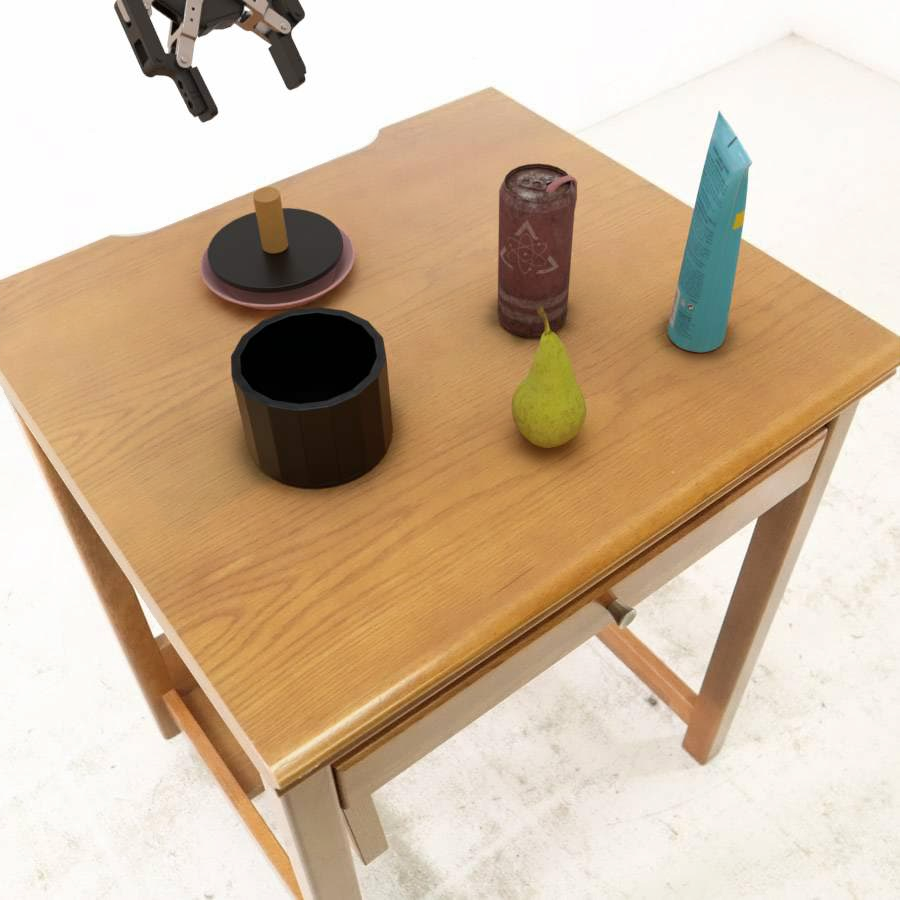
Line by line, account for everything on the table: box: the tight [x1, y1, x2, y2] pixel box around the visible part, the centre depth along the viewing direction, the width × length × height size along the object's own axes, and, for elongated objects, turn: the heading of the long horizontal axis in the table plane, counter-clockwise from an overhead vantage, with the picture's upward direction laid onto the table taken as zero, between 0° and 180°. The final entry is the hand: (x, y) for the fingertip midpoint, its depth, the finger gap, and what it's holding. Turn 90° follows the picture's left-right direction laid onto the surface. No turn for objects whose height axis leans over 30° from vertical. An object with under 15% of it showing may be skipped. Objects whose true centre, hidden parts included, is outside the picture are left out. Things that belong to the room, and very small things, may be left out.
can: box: [497, 163, 578, 339], centre depth 89 cm, size 6×6×14 cm
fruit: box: [511, 306, 587, 449], centre depth 80 cm, size 6×6×12 cm
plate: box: [199, 224, 356, 311], centre depth 99 cm, size 14×14×2 cm
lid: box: [207, 186, 343, 293], centre depth 96 cm, size 12×12×7 cm
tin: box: [230, 306, 394, 490], centre depth 82 cm, size 11×11×8 cm
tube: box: [667, 110, 753, 353], centre depth 85 cm, size 7×5×19 cm, turn 13°
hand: (255, 101), depth 84 cm, fingers open, 8 cm apart
